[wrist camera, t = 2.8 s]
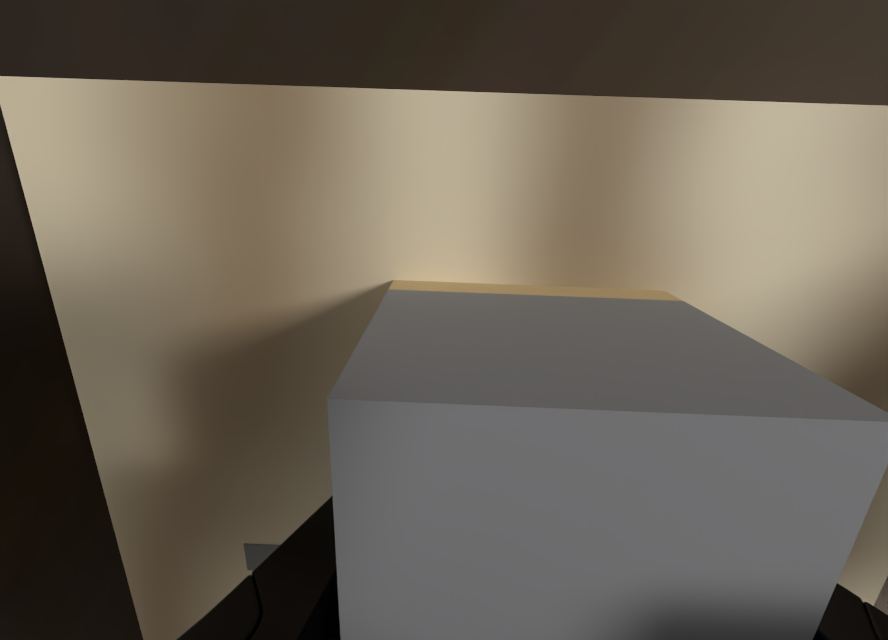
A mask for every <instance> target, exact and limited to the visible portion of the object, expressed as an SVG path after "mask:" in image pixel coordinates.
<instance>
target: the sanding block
mask: <svg viewBox="0 0 888 640" xmlns="http://www.w3.org/2000/svg"><path fill="white" fill-rule="evenodd" d="M327 408H328V425H329V443H330V461H331V478H332V496H333V514H334V531H335V549H336V566H337V584H338V602H339V619H340V637H341V640H813V638H814V635H815V633H816V631H817V628H818V626H819V624H820V621H821V619H822V617H823V614H824V612H825V610H826V607H827V605H828V603H829V600H830V598H831V596H832V593H833V591H834V589H835V586H836V584H837V582H838V579H839V577H840V575H841V572H842V570H843V568H844V565H845V563H846V561H847V558H848V556H849V554H850V551H851V549H852V547H853V544H854V542H855V540H856V537H857V535H858V533H859V530H860V528H861V526H862V523H863V521H864V519H865V516H866V514H867V512H868V509H869V507H870V505H871V502H872V500H873V498H874V495H875V493H876V491H877V488H878V486H879V484H880V481H881V479H882V477H883V474H884V472H885V470H886V467H887V465H888V413H887V412H885V411H884V410H882V409H880V408H878V407H876V406H874V405H873V404H871V403H869V402H867V401H865V400H863V399H862V398H860V397H858V396H856V395H854V394H852V393H851V392H849V391H847V390H845V389H843V388H841V387H840V386H838V385H836V384H834V383H832V382H831V381H829V380H827V379H825V378H823V377H821V376H820V375H818V374H816V373H814V372H812V371H810V370H809V369H807V368H805V367H803V366H801V365H799V364H798V363H796V362H794V361H792V360H790V359H789V358H787V357H785V356H783V355H781V354H779V353H778V352H776V351H774V350H772V349H770V348H768V347H767V346H765V345H763V344H761V343H759V342H757V341H756V340H754V339H752V338H750V337H748V336H747V335H745V334H743V333H741V332H739V331H737V330H736V329H734V328H732V327H730V326H728V325H726V324H725V323H723V322H721V321H719V320H717V319H715V318H714V317H712V316H710V315H708V314H706V313H705V312H703V311H701V310H699V309H697V308H695V307H694V306H692V305H690V304H688V303H686V302H684V301H683V300H681V299H679V298H677V297H675V296H673V295H672V294H670V293H668V292H666V291H664V290H640V289H614V288H588V287H563V286H537V285H511V284H486V283H460V282H434V281H409V280H393V282H392V284H391V286H390V287H389V289H388V291H387V293H386V295H385V296H384V298H383V300H382V302H381V303H380V305H379V307H378V309H377V311H376V312H375V314H374V316H373V318H372V320H371V321H370V323H369V325H368V327H367V328H366V330H365V332H364V334H363V336H362V337H361V339H360V341H359V343H358V345H357V346H356V348H355V350H354V352H353V353H352V355H351V357H350V359H349V361H348V362H347V364H346V366H345V368H344V370H343V371H342V373H341V375H340V377H339V378H338V380H337V382H336V384H335V386H334V387H333V389H332V391H331V393H330V395H329V396H328V398H327Z"/></svg>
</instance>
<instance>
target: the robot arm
mask: <svg viewBox="0 0 888 640" xmlns="http://www.w3.org/2000/svg"><path fill="white" fill-rule="evenodd" d="M176 640H341V637H340V619H339V602H338V584H337V566H336V549H335V531H334V514H333V496H331V497H330V498H329V499H328V500H327V501H326V502H325V503H324V504H323V505H322V506H321V507H319V508H318V509H317V510H316V511H315V512H314V513H313V514H312V515H311V516H310V517H309V518H308V519H307V520H306V521H305V522H304V523H303V524H302V525H301V526H300V527H299V528H297V529H296V530H295V531H294V532H293V533H292V534H291V535H290V536H289V537H288V538H287V539H286V540H285V541H284V542H283V543H282V544H281V545H280V546H279V547H278V548H276V549H275V550H274V551H273V552H272V553H271V554H270V555H269V556H268V557H267V558H266V559H265V560H264V561H263V562H262V563H261V564H260V565H259V566H258V567H257V568H256V569H254V570H253V571H252V575H248V576H247V577H246V578H245V579H244V580H243V581H242V582H241V583H240V584H238V585H237V586H236V587H235V588H234V589H233V590H232V591H231V592H230V593H229V594H228V595H227V596H226V597H225V598H223V599H222V600H221V601H220V602H219V603H218V604H217V605H216V606H215V607H214V608H212V609H211V610H210V611H209V612H208V613H207V614H206V615H205V616H204V617H203V618H201V619H200V620H199V621H198V622H197V623H195V624H194V625H193V626H192V627H191V628H189V629H188V630H187V631H186V632H185V633H183V634H182V635H181V636H180V637H179V638H177V639H176ZM813 640H888V615H887V614H885V613H883V612H882V611H880V610H879V609H877V608H876V607H874V606H873V605H871V604H870V603H868V602H863V601H862V599H861V598H860V597H858V596H857V595H855V594H854V593H852V592H851V591H849V590H848V589H846V588H844V587H843V586H841V585H840V584H838V583H837V584H836V586H835V589H834V591H833V593H832V596H831V598H830V600H829V603H828V605H827V607H826V610H825V612H824V614H823V617H822V619H821V621H820V624H819V626H818V628H817V631H816V633H815V635H814V638H813Z"/></svg>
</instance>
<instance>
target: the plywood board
mask: <svg viewBox="0 0 888 640" xmlns="http://www.w3.org/2000/svg"><path fill="white" fill-rule="evenodd" d="M0 105H1V109H2V113H3V116H4V120H5V124H6V128H7V131H8V135H9V139H10V143H11V146H12V150H13V154H14V158H15V161H16V165H17V169H18V173H19V176H20V180H21V184H22V188H23V191H24V195H25V199H26V202H27V206H28V210H29V214H30V217H31V221H32V225H33V229H34V232H35V236H36V240H37V244H38V247H39V251H40V255H41V259H42V262H43V266H44V270H45V274H46V277H47V281H48V285H49V289H50V292H51V296H52V300H53V303H54V307H55V311H56V315H57V318H58V322H59V326H60V330H61V333H62V337H63V341H64V345H65V348H66V352H67V356H68V360H69V363H70V367H71V371H72V375H73V378H74V382H75V386H76V390H77V393H78V397H79V401H80V404H81V408H82V412H83V416H84V419H85V423H86V427H87V431H88V434H89V438H90V442H91V446H92V449H93V453H94V457H95V461H96V464H97V468H98V472H99V476H100V479H101V483H102V487H103V491H104V494H105V498H106V502H107V505H108V509H109V513H110V517H111V520H112V524H113V528H114V532H115V535H116V539H117V543H118V547H119V550H120V554H121V558H122V562H123V565H124V569H125V573H126V577H127V580H128V584H129V588H130V592H131V595H132V599H133V603H134V606H135V610H136V614H137V618H138V621H139V625H140V629H141V633H142V636H143V640H176V639H177V638H179V637H180V636H181V635H182V634H183V633H185V632H186V631H187V630H188V629H189V628H191V627H192V626H193V625H194V624H195V623H197V622H198V621H199V620H200V619H201V618H203V617H204V616H205V615H206V614H207V613H208V612H209V611H210V610H211V609H212V608H214V607H215V606H216V605H217V604H218V603H219V602H220V601H221V600H222V599H223V598H225V597H226V596H227V595H228V594H229V593H230V592H231V591H232V590H233V589H234V588H235V587H236V586H237V585H238V584H240V583H241V582H242V581H243V580H244V579H245V578H246V577H247V576H248V575H252V571H253V570H254V569H256V568H257V567H258V566H259V565H260V564H261V563H262V562H263V561H264V560H265V559H266V558H267V557H268V556H269V555H270V554H271V553H272V552H273V551H274V550H275V549H276V548H278V547H279V546H280V545H281V544H282V543H283V542H284V541H285V540H286V539H287V538H288V537H289V536H290V535H291V534H292V533H293V532H294V531H295V530H296V529H297V528H299V527H300V526H301V525H302V524H303V523H304V522H305V521H306V520H307V519H308V518H309V517H310V516H311V515H312V514H313V513H314V512H315V511H316V510H317V509H318V508H319V507H321V506H322V505H323V504H324V503H325V502H326V501H327V500H328V499H329V498H330V497H331V496H332V478H331V461H330V443H329V425H328V408H327V398H328V396H329V395H330V393H331V391H332V389H333V387H334V386H335V384H336V382H337V380H338V378H339V377H340V375H341V373H342V371H343V370H344V368H345V366H346V364H347V362H348V361H349V359H350V357H351V355H352V353H353V352H354V350H355V348H356V346H357V345H358V343H359V341H360V339H361V337H362V336H363V334H364V332H365V330H366V328H367V327H368V325H369V323H370V321H371V320H372V318H373V316H374V314H375V312H376V311H377V309H378V307H379V305H380V303H381V302H382V300H383V298H384V296H385V295H386V293H387V291H388V289H389V287H390V286H391V284H392V282H393V280H409V281H434V282H460V283H486V284H511V285H537V286H563V287H588V288H614V289H640V290H664V291H666V292H668V293H670V294H672V295H673V296H675V297H677V298H679V299H681V300H683V301H684V302H686V303H688V304H690V305H692V306H694V307H695V308H697V309H699V310H701V311H703V312H705V313H706V314H708V315H710V316H712V317H714V318H715V319H717V320H719V321H721V322H723V323H725V324H726V325H728V326H730V327H732V328H734V329H736V330H737V331H739V332H741V333H743V334H745V335H747V336H748V337H750V338H752V339H754V340H756V341H757V342H759V343H761V344H763V345H765V346H767V347H768V348H770V349H772V350H774V351H776V352H778V353H779V354H781V355H783V356H785V357H787V358H789V359H790V360H792V361H794V362H796V363H798V364H799V365H801V366H803V367H805V368H807V369H809V370H810V371H812V372H814V373H816V374H818V375H820V376H821V377H823V378H825V379H827V380H829V381H831V382H832V383H834V384H836V385H838V386H840V387H841V388H843V389H845V390H847V391H849V392H851V393H852V394H854V395H856V396H858V397H860V398H862V399H863V400H865V401H867V402H869V403H871V404H873V405H874V406H876V407H878V408H880V409H882V410H884V411H885V412H887V413H888V106H878V105H848V104H818V103H787V102H757V101H727V100H697V99H667V98H637V97H607V96H577V95H547V94H517V93H487V92H457V91H427V90H397V89H367V88H337V87H307V86H277V85H247V84H217V83H187V82H157V81H127V80H97V79H67V78H37V77H7V76H0ZM887 576H888V465H887V467H886V470H885V472H884V474H883V477H882V479H881V481H880V484H879V486H878V488H877V491H876V493H875V495H874V498H873V500H872V502H871V505H870V507H869V509H868V512H867V514H866V516H865V519H864V521H863V523H862V526H861V528H860V530H859V533H858V535H857V537H856V540H855V542H854V544H853V547H852V549H851V551H850V554H849V556H848V558H847V561H846V563H845V565H844V568H843V570H842V572H841V575H840V577H839V579H838V582H837V583H838V584H840V585H841V586H843V587H844V588H846V589H848V590H849V591H851V592H852V593H854V594H855V595H857V596H858V597H860V598H861V599H862V601H863V602H868V603H870V604H871V605H873V606H874V604H875V601H876V599H877V597H878V595H879V593H880V591H881V589H882V587H883V585H884V583H885V581H886V578H887Z"/></svg>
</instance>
